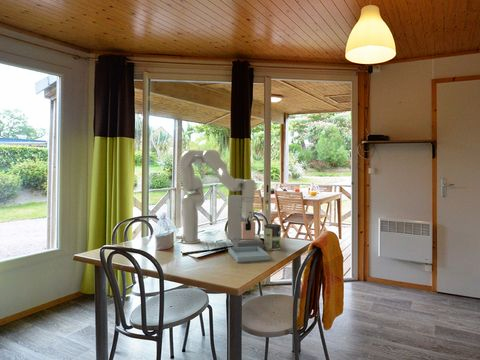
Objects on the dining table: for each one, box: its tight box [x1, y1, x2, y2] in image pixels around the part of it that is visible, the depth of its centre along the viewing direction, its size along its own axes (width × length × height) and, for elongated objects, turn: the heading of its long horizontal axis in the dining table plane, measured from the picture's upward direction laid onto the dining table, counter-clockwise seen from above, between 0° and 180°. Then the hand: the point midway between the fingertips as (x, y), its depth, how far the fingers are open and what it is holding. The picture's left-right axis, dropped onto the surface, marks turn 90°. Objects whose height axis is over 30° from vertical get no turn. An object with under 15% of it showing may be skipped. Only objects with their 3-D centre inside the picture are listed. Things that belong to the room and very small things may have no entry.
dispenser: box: [232, 236, 264, 250], centre depth 205 cm, size 16×12×6 cm
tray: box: [228, 246, 271, 264], centre depth 187 cm, size 18×20×3 cm
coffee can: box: [263, 223, 282, 251], centre depth 206 cm, size 10×10×14 cm
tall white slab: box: [227, 194, 244, 241], centre depth 228 cm, size 14×6×30 cm, turn 73°
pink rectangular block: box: [241, 220, 256, 239], centre depth 205 cm, size 8×3×10 cm, turn 105°
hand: (247, 229), depth 205 cm, fingers closed on pink rectangular block, 2 cm apart
